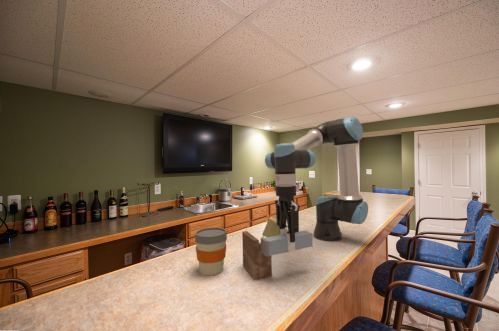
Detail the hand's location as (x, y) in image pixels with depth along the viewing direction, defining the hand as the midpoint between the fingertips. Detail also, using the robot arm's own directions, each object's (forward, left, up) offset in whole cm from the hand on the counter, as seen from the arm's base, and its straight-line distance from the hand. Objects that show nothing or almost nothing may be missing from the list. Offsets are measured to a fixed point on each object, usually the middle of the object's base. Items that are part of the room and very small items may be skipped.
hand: (287, 248), depth 78 cm
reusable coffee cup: (+25, -16, -10) cm, 32 cm away
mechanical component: (-12, -25, -10) cm, 30 cm away
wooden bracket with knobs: (+8, -8, -10) cm, 15 cm away
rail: (0, 0, 0) cm, 0 cm away
